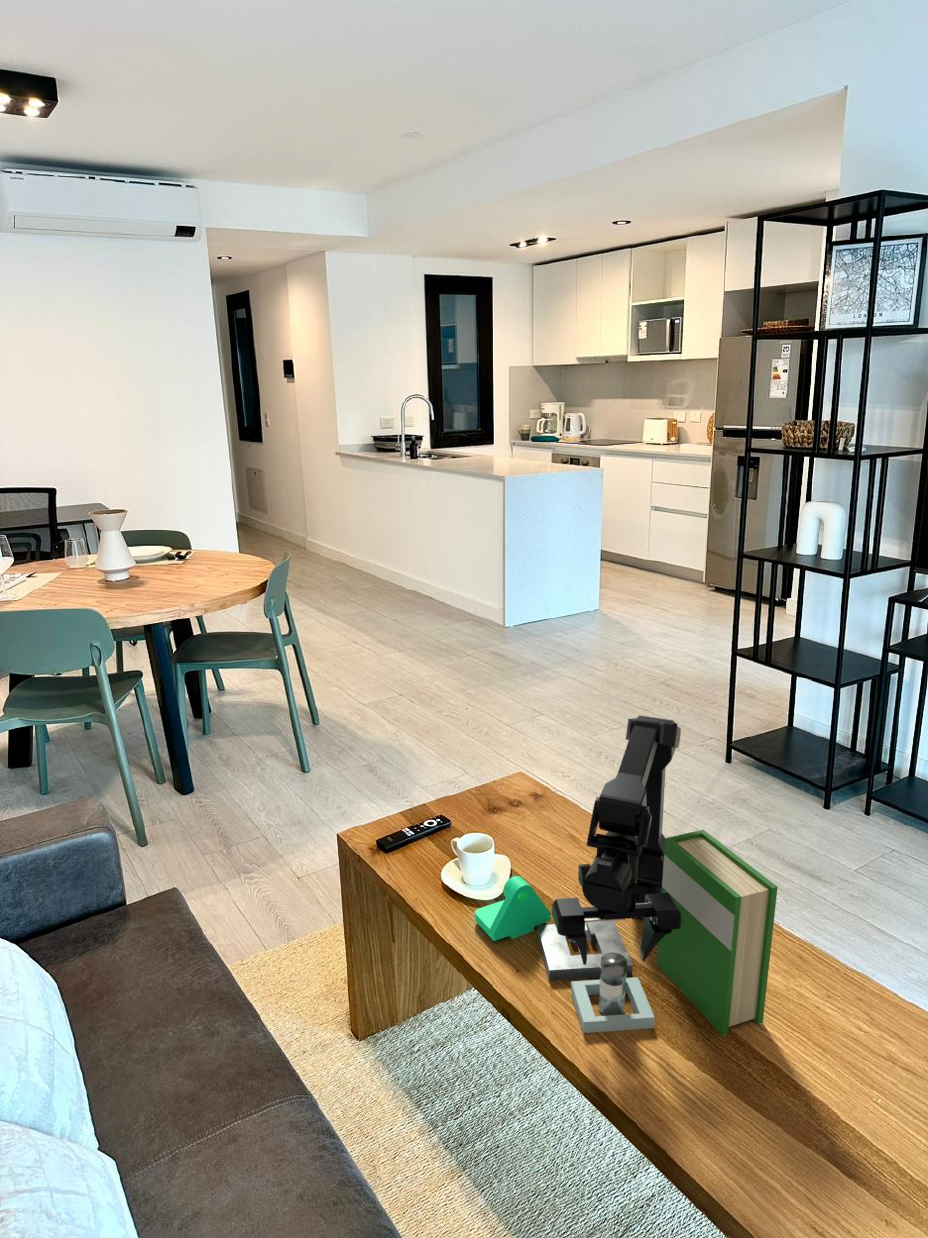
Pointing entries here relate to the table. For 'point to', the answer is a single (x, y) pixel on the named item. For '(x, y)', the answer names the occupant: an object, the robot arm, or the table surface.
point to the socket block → (572, 967)
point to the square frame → (613, 1022)
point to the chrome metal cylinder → (612, 984)
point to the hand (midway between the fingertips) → (613, 961)
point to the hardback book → (717, 929)
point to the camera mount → (513, 911)
